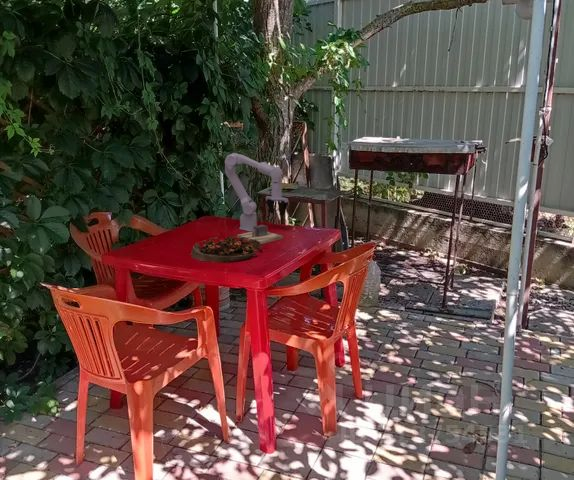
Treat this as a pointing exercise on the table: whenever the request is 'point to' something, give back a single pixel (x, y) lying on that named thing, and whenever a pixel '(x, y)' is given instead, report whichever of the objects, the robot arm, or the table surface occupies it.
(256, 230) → the jaw block
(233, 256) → the food dish
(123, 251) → the table surface
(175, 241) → the table surface
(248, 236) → the base plate
